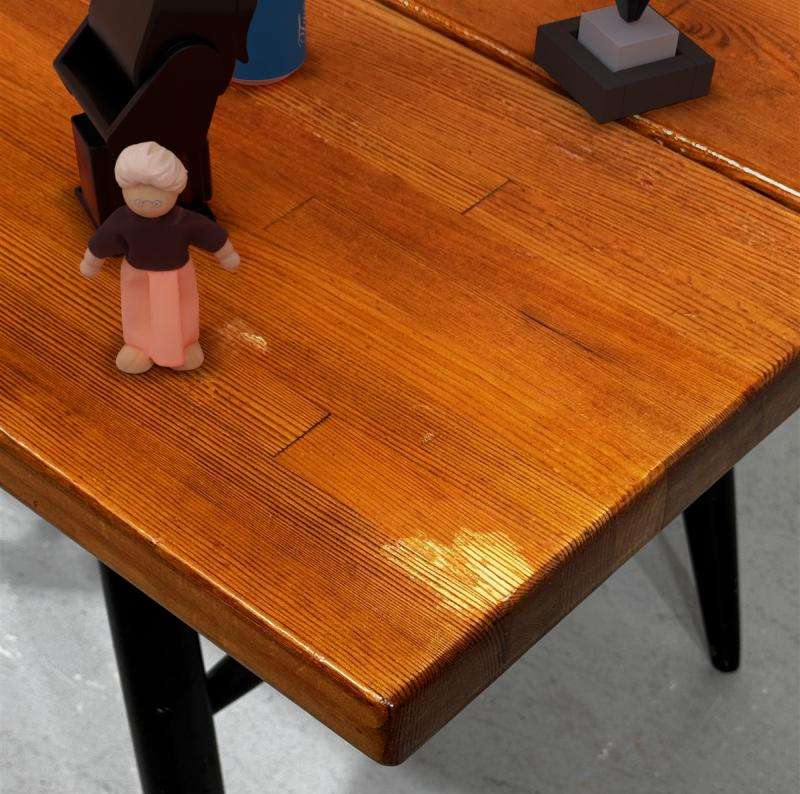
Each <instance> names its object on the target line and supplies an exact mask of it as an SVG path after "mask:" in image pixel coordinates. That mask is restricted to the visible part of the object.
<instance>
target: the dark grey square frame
mask: <svg viewBox="0 0 800 794" xmlns="http://www.w3.org/2000/svg"><path fill="white" fill-rule="evenodd" d="M648 6H649V7H651V8H652V9H653V10H654V11H655V12H656V13H658V14H659V15H660V16H661V17H662V18H664V19H665V20H666V21H667V22H668V23H670V24H671V25H672V26H673V27H674V28H676V29H677V30H678V31H679V36H678V42H677V47H676V52H675V56H674V57H670V58H666V59H662V60H659V61H655V62H651V63H647V64H643V65H639V66H636V67H632V68H628V69H624V70H620V71H616V72H614V73H613V72H612V71H611V70H610V69H608V68H607V67H606V66H605V65H604V64H603V63H602V62H601V61H600V60H599V59H597V58H596V57H595V56H594V55H593V54H592V53H591V52H590V51H589V50H588V49H586V48H585V47H584V46H583V45H582V44H581V43H580V42H579V41H578V35H579V28H580V20H581V14H580V15H577V16H573V17H568V18H564V19H560V20H557V21H551V22H547V23H544V24H543V23H542V24H539V25H537V26H536V32H535V33H536V34H535V44H534V51H533V61H534V62H535V63H536V64H537V65H538V66H539V67H540V68H542V70H543V71H544V72H546V73H547V74H548V76H550V77H551V78H552V79H553V80H554V81H555V82H556V83H557V84H558V85H559V86H560V87H561V88H562V89H564V91H565V92H567V94H569V95H570V96H571V98H573V99H574V100H575V102H577V104H579V105H580V106H581V107H582V108H583V109H584V110H585V111H586V112H587V113H588V114H589V115H590V116H592V117H593V118H594V119H595V120H596V121H597V123H598V124H605V123H608V122H613V121H616V120H619V119H624V118H627V117H631V116H635V115H638V114H643V113H645V112H646V113H647V112H649V111H653V110H657V109H660V108H665V107H668V106H672V105H675V104H678V103H682V102H686V101H689V100H693V99H696V98H701V97H704V96H707V95H710V91H711V85H712V81H713V75H714V71H715V68H716V67H715V66H716V63H717V62H716V58H714V57H713V56H712V55H710V54H709V53H708V52H707V51H706V50H705V49H703V48H702V47H701V46H700V45H699V44H698V43H696V42H695V41H694V40H692V39H691V38H690V37H689V36H688V35H687V34H685V33H684V32H683V31H681V30H680V29H679V28H678V27H677V26H675V25H674V23H672V22H671V21H669V19H667V18H666V17H665V16H663V14H662V13H660V12H659V11H657V10H656V9H655V8H654V7H653V6H652V5H650V4H649V3H648Z"/></svg>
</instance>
